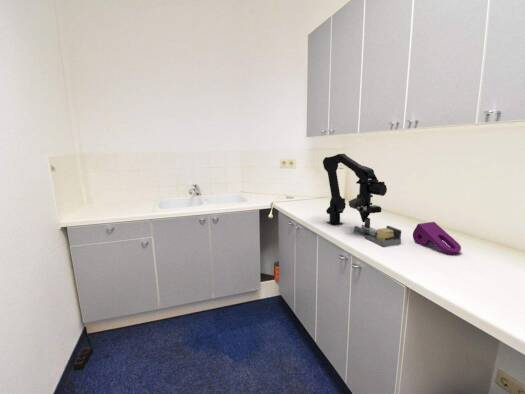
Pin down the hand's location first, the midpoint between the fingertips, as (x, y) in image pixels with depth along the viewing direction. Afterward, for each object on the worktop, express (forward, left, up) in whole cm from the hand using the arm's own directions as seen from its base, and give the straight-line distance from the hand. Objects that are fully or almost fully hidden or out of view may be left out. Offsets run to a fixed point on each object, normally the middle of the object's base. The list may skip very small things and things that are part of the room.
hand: (363, 222), depth 141 cm
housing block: (+16, 0, -5) cm, 16 cm away
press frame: (+8, +1, -6) cm, 10 cm away
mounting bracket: (+29, +17, -6) cm, 34 cm away
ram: (+7, 0, -4) cm, 8 cm away
